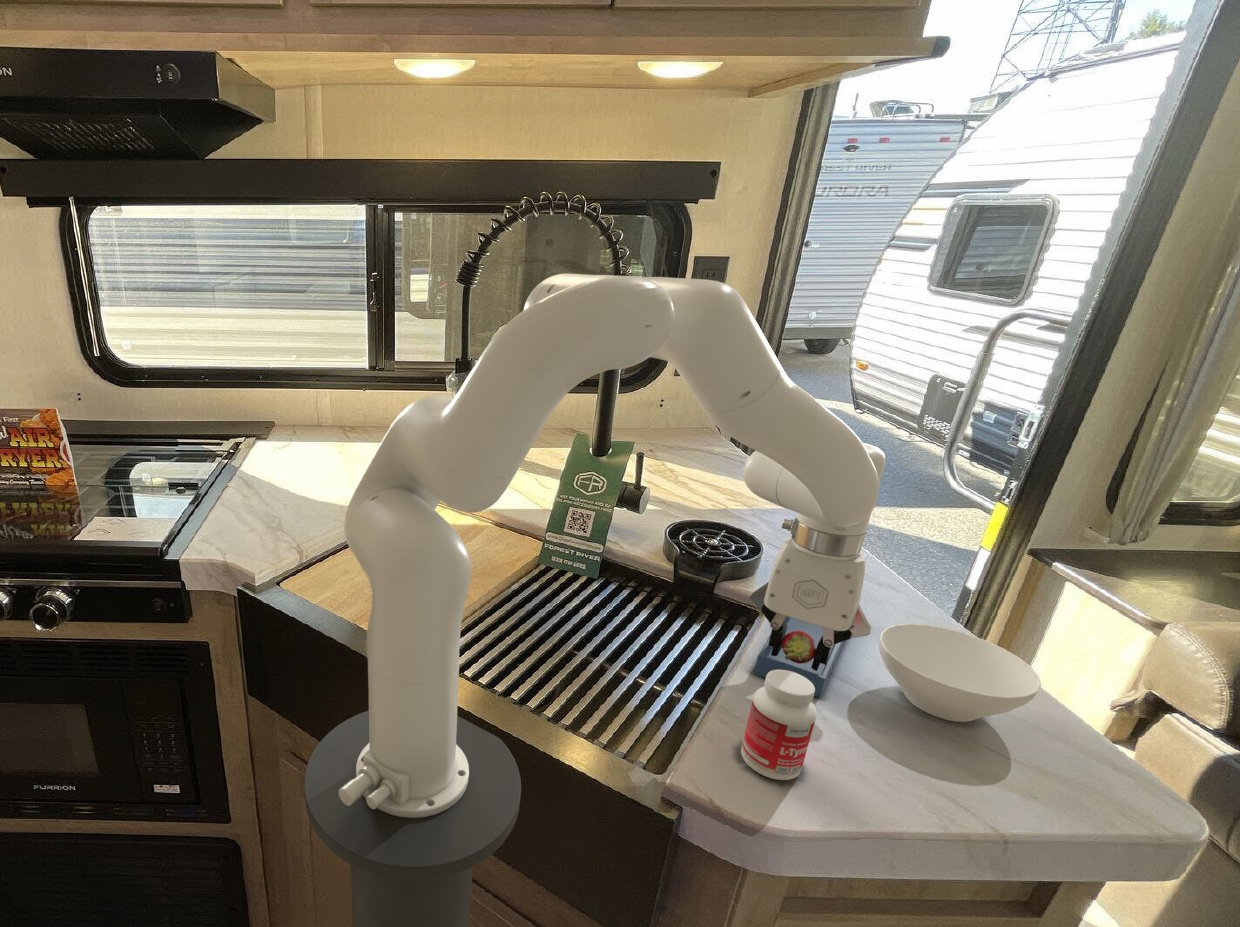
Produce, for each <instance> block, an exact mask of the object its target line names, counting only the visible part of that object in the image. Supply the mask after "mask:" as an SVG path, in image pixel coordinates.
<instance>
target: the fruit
mask: <svg viewBox="0 0 1240 927" xmlns="http://www.w3.org/2000/svg"><path fill="white" fill-rule="evenodd" d="M781 645H782V649H783V652H784V653H785V655H786V656H785V659H789V660H791V661H793V662H795V663H799V664H800V663H801V664H802V663H807V662H809V661H811V660H812V659H813V658H814V656H815V652H816V648H815V643H814V640H813V638H812V637H811V636H810V635H809V634H807V633H806V632H803V631H793V632H790V633H788V634H787V635H785V636H784V637H783V639H782V643H781Z"/></svg>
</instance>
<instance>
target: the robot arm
mask: <svg viewBox="0 0 1240 927" xmlns="http://www.w3.org/2000/svg"><path fill="white" fill-rule="evenodd" d="M649 358H652V359H658V360H662V361H666V362H668V363H669V364H671V365H672V366H673V367H674V369H675V370H676V371H677V373H678V375H679V376H680V377H681V379H682V380H683V381H684V383H685V384H686V386H687V388H688V389H689V390H690V391H691V393H692V394H693V396H694V398H695V399H696V400H697V401H698V403H699V405H700V407H701V408H702V409H703V411H704V412H705V414H706V415H707V417H708V418H709V420H710V421H711V422H712V423H713V424H714V425H715V427H716V428H718V429H719V430H721V431H722V432H724V433H725V434H726V435H728V436H730V437H731V438H732V439H734V440H735V441H737V442H739V443H740V444H742V445H744V446H746V447H748V448H749V449H752V450H753V452H752V453H751V454H750V455H749V456H748V458H747V459H746V461H745V463H744V466H743V470H742V476H743V481H744V484H745V485H746V487H747V488H748V489H749V491H750V492H751V493H753V494H754V495H755V496H757V497H759V498H760V499H762V500H764V501H767V502H769V503H772V504H774V505H776V506H779V507H781V508H784V509H786V510H790V511H793V512H794V513H797V516H796V517H795V518H794V519H787V518H784V519H783V521H782V524H781V529H783V530H786V531H788V532H790V536H788V537H787V538H785V539H784V540H783V542H782V545H781V546H780V549H779V551H778V553H777V555H776V559H775V561H774V564H773V567H772V571H771V574H770V576H769V579H768V582H766V583H765V584H763V585H762V586H761V587H759V588H757V589H756V590H755V591H753V592H752V593H751V595H750V596H749V600H750V601H751V602H752V603H753V604H754V605H755V606H756V607H757V608H758V609H760V610H761V613H762V614H763V616H764V617H765V618H766V620H767V622H768V623H769V627H770V628H771V632H770V635H769V637H770V640H769V644H768V645H769V646H771V647H773V649H772V653H771V655H772V656H777V655H778V654H779V652H780V650H781V648H782V645H781V643H782V639H783V637H784V636H785V633H786V629H787V625H786V622H785V618H786V616H788V617H791V618H794V619H798V620H801V621H804V622H807V623H811V624H814V625H817V626H820V627H823V637H822V636H821V638H820V641H819V643H818V645H817V648H816V652H815V656H814V659H813V663H812V667H811V668H813V670H815V671H817V670H818V668H819V665H820V663H822V664H825V665H826V663H827V660H828V657H829V654H830V650H831V647H832V646H833V645H834V644H837V643H840V642H842V641H844V642H845V641H848V640H850V639H856V638H862V637H867V636H869V635H870V633H871V631H872V627H871V625H870V623H869V621H868V620H867V617H866V614H865V613H864V611H863V609H862V608H861V605H860V601H861V596H862V593H863V586H864V581H865V573H866V572H865V571H866V554H865V553H864V552H863V551H862V547H863V544H864V540H865V537H866V534H867V530H868V526H869V523H870V519H871V515H872V512H873V511H874V509H875V507H876V506H877V502H878V500H879V496H880V484H881V480H882V477H883V473H884V469H885V465H886V456H885V453H884V452H883V451H882V450H881V449H880V448H879V447H876V446H874V445H872V444H870V443H865V442H862V440H861V439H860V438H859V436H858V435H857V434H856V433H855V432H854V430H852V429H851V428H850V427H849V425H847V424H846V423H845V422H844V421H843V420H842V419H841V418H839V417H838V416H837V415H836V414H834V413H833V412H832V411H831V410H830V409H828V408H827V407H826V406H824V405H823V404H822V403H820V402H819V401H818V400H817V399H816V398H814V397H813V395H811V394H810V393H809V392H807V391H806V390H804V388H802V387H800V386H799V385H798V384H796V383H795V382H793V381H792V380H791V379H790V377H789V376H788V375H787V373H786V371H785V370H784V368H783V367H782V364H781V363H780V361H779V359H778V358H777V356H776V354H775V352H774V350H773V349H772V347H771V345H770V343H769V342H768V340H767V338H766V336H765V334H764V332H763V331H762V329H761V328H760V325H759V324H758V322H757V320H756V319H755V317H754V315H753V313H752V312H751V309H750V308H749V306H748V305H747V303H746V301H745V300H744V298H743V297H742V296H741V294H740V293H739V292H738V290H736V289H735V288H734V287H732V286H730V284H729V285H728V284H727V283H724V282H721V281H718V280H712V279H704V278H703V279H702V278H683V277H670V276H669V277H668V276H632V275H611V274H585V273H583V274H582V273H558V274H555V275H551V276H549V277H547V278H545V279H544V280H542V281H541V282H539V283H538V284H537V285H536V286H535V287H534V288H533V289H532V290H531V292H530V293H529V295H528V297H527V298H526V301H525V303H524V306H523V310H522V311H521V312H519V313H518V314H516V315H515V316H514V317H513V318H512V319H510V321H508V322H507V323H506V324H505V325H504V326H503V327H502V328H501V329H500V330H499V331H497V333H496V334H495V335H494V337H493V338H492V339H491V340H490V342H489V343H488V345H486V347H485V348H484V350H483V351H482V353H481V355H479V358H478V359H477V361H476V363H475V364H474V366H473V367H472V369H471V370H470V371H469V373H468V375H467V376H466V378H465V380H464V382H463V383H462V384H461V386H460V388H459V390H457V393H456V394H455V396H452V395H448V394H431V395H425V396H424V397H421V398H419V399H417V400H415V401H413V402H412V403H410V404H409V405H407V407H405V408H404V410H402V411H401V412H400V413H399V414H398V416H397V417H396V418H395V419H394V421H393V422H392V423H391V425H390V426H389V428H388V430H387V432H386V434H385V435H384V437H383V439H382V440H381V442H380V445H379V446H378V448H377V450H376V452H375V454H374V455H373V457H372V459H371V461H370V462H369V465H368V466H367V468H366V470H365V472H364V474H362V477H361V479H360V480H359V483H358V484H357V486H356V488H355V490H354V492H353V494H352V496H351V499H350V500H349V502H348V505H347V508H346V511H345V515H344V521H343V533H344V538H345V541H346V543H347V547H348V548H349V549H350V551H351V553H352V554H353V556H354V558H355V559H356V561H357V563H358V564H359V566H360V568H361V569H362V571H363V573H364V574H365V576H366V578H367V579H368V582H369V585H370V589H371V605H370V606H371V607H370V611H369V617H368V623H367V631H366V632H367V633H366V656H367V657H366V659H367V678H368V680H367V683H368V684H367V686H368V711H369V739H370V743H368V744H367V746H366V747H365V748H364V749H363V750H362V752H361V754H360V755H359V757H358V761H357V764H356V778H354V779H352V780H350V781H349V782H348V783H347V784H345V785H344V786H343V787H342V788H341V789H340V790H339V797H340V799H341V800H342V802H343V803H344V804H345V805H347V806H350V805H352V804H353V803H354V802H355V801H356V800H358V799H359V798H360V797H361V796H362V795H363V796H364V797H365V798H366V802H367V804H368V806H369V807H370V808H371V809H376V808H378V809H380V810H381V811H384V812H386V813H389V814H391V815H396V816H400V817H409V818H418V817H427V816H431V815H435V814H438V813H440V812H442V811H445V810H447V809H448V808H450V807H451V806H453V805H454V804H455V803H456V802H457V801H458V800H459V799H460V798H461V797H462V795H463V794H464V792H465V790H466V788H467V785H468V779H469V765H468V762H467V759H466V756H465V755H464V753H463V751H462V750H461V749H460V748H459V747H458V746H457V744H456V732H457V715H458V703H459V679H460V648H461V631H462V621H463V615H464V611H465V605H466V601H467V598H468V593H469V589H470V585H471V580H472V563H471V559H470V554H469V551H468V549H467V546H466V544H465V542H464V540H463V539H462V538H461V536H460V534H459V533H458V532H457V530H456V529H455V528H454V527H453V526H452V524H450V523H449V522H448V520H446V519H445V517H443V516H442V515H440V514H439V512H437V511H436V509H437V507H438V505H439V504H440V502H442V503H443V504H445V505H447V506H448V507H450V508H452V509H453V510H456V511H459V512H463V513H469V514H472V513H473V514H474V513H479V512H483V511H486V510H487V509H489V508H490V507H493V506H494V505H495V504H496V503H497V502H498V501H499V500H500V498H501V497H502V496H503V494H505V492H506V490H507V488H508V487H509V485H510V484H511V482H512V481H513V479H514V477H515V476H516V474H517V472H518V471H519V469H520V467H521V465H522V464H523V462H524V460H525V458H526V457H527V455H528V453H529V452H530V450H531V448H532V446H533V445H534V443H535V442H536V440H537V438H538V436H539V435H540V433H541V432H542V430H543V427H544V426H545V424H546V423H547V421H548V419H550V417H551V415H552V414H553V412H554V411H555V409H556V408H557V406H558V405H559V403H560V402H561V401H562V400H563V399H564V398H565V396H566V395H567V394H569V393H570V391H571V390H573V389H574V388H575V387H577V386H578V385H579V384H581V383H582V382H584V381H586V380H588V379H589V378H591V377H594V376H596V375H598V374H600V373H604V372H606V371H611V370H622V369H626V368H630V367H633V366H636V365H638V364H640V363H642V362H644V361H646V360H647V359H649Z"/></svg>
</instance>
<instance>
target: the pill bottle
mask: <svg viewBox="0 0 1240 927" xmlns="http://www.w3.org/2000/svg"><path fill="white" fill-rule="evenodd" d="M814 692H815V687H814V685H813V684H812V683H811V682H810V681H809V680H808V679H807V678H805V677H803V676H802V675H800V674H797V673H795V672H791V671H787V670H772V671H770V672H769V673H768V674H767V676H766V678H765V679H764V683H763V686H761V687H760V688H757V689H756V691H755V692H754V694H753V697H752V701H751V705H750V708H749V709H750V710H749V714H748V718H747V723H746V725H745V726H746V727H745V730H744V736H743V739H742V743H741V748H740V754H741V756H742V759H743V761H744V762H745V763H746V764H747V765H748V766H749V767H750V768H751V769H752V770H753V771H755V772H756V773H758V774H760V775H762V776H764V777H765V778H769V779H772V780H778V781H790V780H793V779H796V778H798V776H799V775H800V774H801V772H802V769H803V765H804V762H805V758H806V755H807V751H808V747H809V745H810V740H811V737H812V734H813V730H814V727H815V723H816V720H817V708H816V707H815V704H814V703H813V699H814V697H815V696H814Z"/></svg>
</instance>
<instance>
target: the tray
mask: <svg viewBox="0 0 1240 927" xmlns="http://www.w3.org/2000/svg"><path fill="white" fill-rule="evenodd" d="M785 622H786V625H787V629H786V633H785V635H787V634H788V633H790V632H793V631H803V632H806V633H807V634H809V635H810V636H811V637H812V638H813V640H814V643H815V648H817V645H818V643H819V641H820V638H821V636H822V637H823V627H820V626H817V625H814V624H811V623H807V622H804V621H801V620H798V619H794V618H791V617H788V616H786V618H785ZM769 640H770V636H769V637H768V639H767V640H766V642H765V644H764V646H763V647H762V649H761V650H760V652H759V653H758V655H757V658H756V659H757V660H756V663H755V667H754V671H753V674H754V675H756V676H759V677H762V678H765V679H766V676H767V674H768V673H769V672H770V671H772V670H787V671H791V672H795V673H797V674H800V675H802V676H803V677H805V678H807V679H808V680H809V681H810V682H811V683H812V684H813V685H814V687H815V692H814V696H813V697H817V698H819V699H820V698H821V696H822V694H823V691H824V689H825V687H826V684H827V682H828V680H829V677H830V674H831V672H832V670H833V667H834V665H835V663H836V661H837V658H838V656H839V653H840V651H841V649H842V647H843V644H844V642H845V641H842V642H840V643H837V644H834V645H833V646H832V647H831V650H830V654H829V657H828V660H827V663H826V665H825V664H822V663H820V665H819V668H818V670H817V671H815V670H813V668H811V667H812V663H813V659H814V658H813V659H812V660H811V661H809V662H807V663H802V664H801V663H800V664H799V663H795V662H793V661H791V660H789V659H785V656H786V655H785V653H784V652H783V649H782V648H781V650H780V652H779V654H778V655H777V656H772V655H771V653H772V649H773V647H771V646H769V645H768V644H769Z"/></svg>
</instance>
